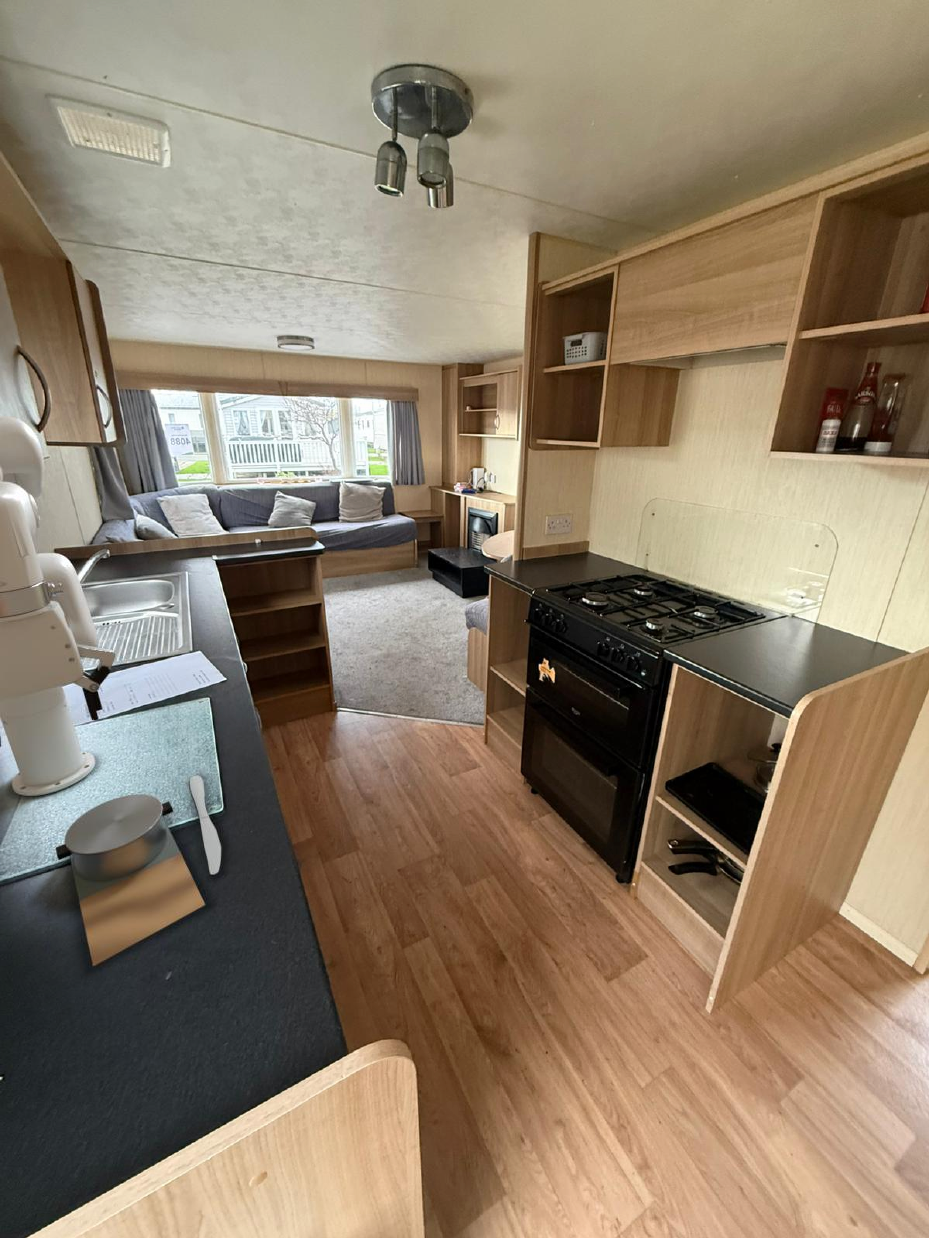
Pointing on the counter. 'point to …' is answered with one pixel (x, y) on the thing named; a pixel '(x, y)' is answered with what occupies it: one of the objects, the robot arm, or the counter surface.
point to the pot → (116, 837)
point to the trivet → (138, 907)
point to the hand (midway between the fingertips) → (48, 729)
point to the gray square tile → (90, 887)
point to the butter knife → (206, 826)
